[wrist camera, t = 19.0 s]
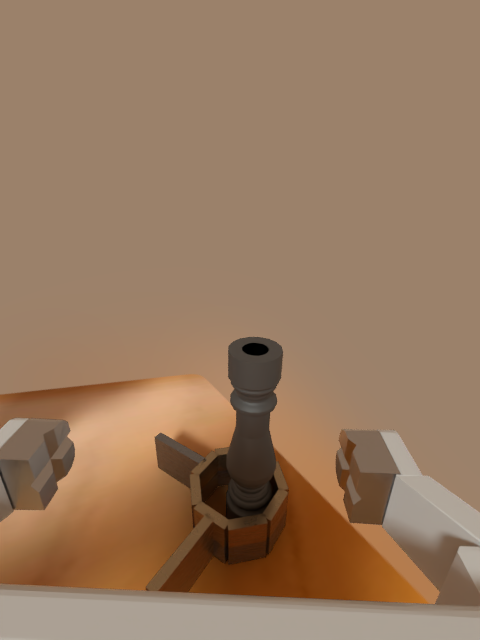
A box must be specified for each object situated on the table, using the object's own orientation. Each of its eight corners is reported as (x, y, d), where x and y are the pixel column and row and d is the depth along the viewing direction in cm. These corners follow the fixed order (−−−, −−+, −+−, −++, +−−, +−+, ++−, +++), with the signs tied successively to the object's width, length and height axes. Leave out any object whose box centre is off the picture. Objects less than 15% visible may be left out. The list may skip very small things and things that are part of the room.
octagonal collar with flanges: (73, 543, 40) (63, 509, 38) (187, 441, 56) (185, 413, 53) (201, 672, 30) (199, 637, 27) (297, 503, 45) (301, 471, 43)
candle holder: (265, 490, 47) (275, 334, 37) (278, 532, 42) (294, 361, 32) (222, 497, 46) (221, 338, 36) (230, 541, 40) (231, 367, 31)
